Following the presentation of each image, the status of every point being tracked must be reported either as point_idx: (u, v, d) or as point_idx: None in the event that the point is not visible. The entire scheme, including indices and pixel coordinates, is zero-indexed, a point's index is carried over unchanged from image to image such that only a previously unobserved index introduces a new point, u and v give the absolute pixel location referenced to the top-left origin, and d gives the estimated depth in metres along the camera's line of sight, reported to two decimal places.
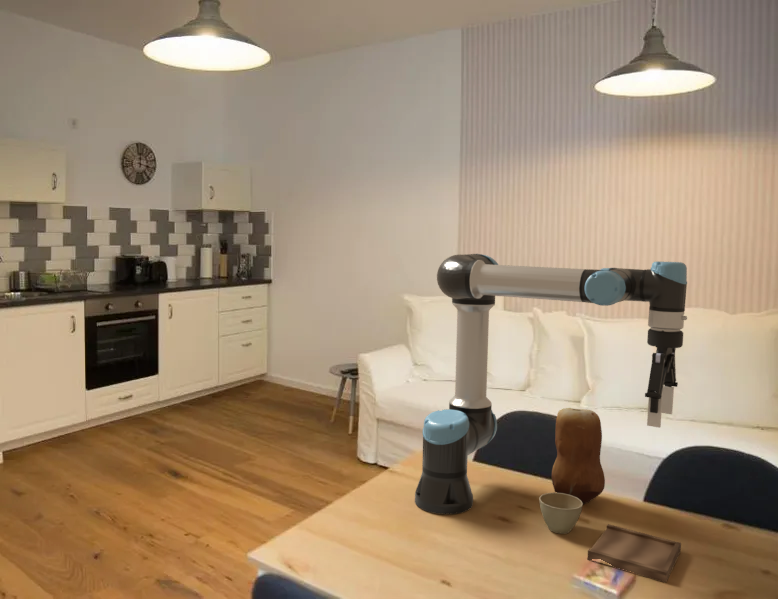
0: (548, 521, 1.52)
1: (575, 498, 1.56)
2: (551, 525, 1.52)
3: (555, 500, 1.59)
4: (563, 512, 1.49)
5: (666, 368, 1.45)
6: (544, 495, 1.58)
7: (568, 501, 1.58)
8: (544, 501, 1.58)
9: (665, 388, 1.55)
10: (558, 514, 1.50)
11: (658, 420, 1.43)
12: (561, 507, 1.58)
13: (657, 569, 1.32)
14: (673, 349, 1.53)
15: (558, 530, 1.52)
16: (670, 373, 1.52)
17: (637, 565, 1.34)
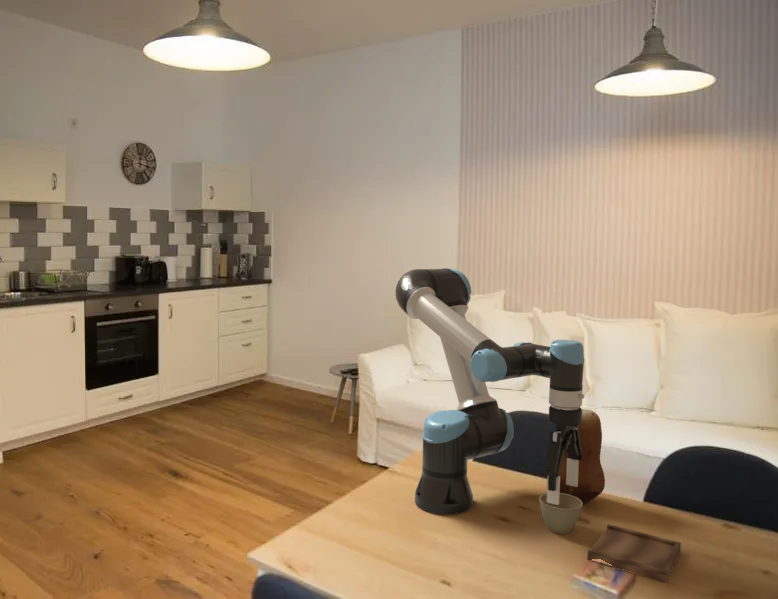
0: (548, 521, 1.52)
1: (575, 498, 1.56)
2: (551, 525, 1.52)
3: None
4: (563, 512, 1.49)
5: (564, 446, 1.49)
6: (544, 495, 1.58)
7: (568, 501, 1.58)
8: (544, 501, 1.58)
9: (570, 461, 1.59)
10: (558, 514, 1.50)
11: (556, 497, 1.47)
12: (561, 507, 1.58)
13: (657, 569, 1.32)
14: None
15: (558, 530, 1.52)
16: (573, 447, 1.56)
17: (637, 565, 1.34)
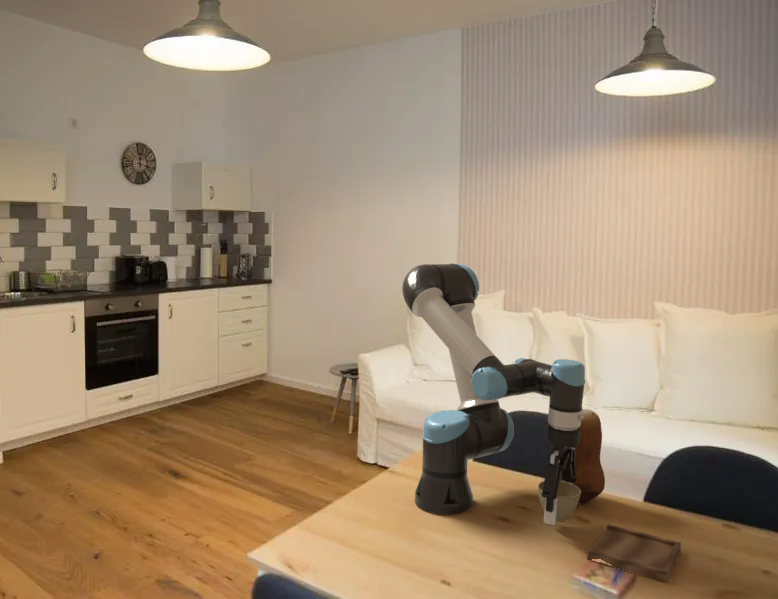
0: None
1: (573, 486, 1.57)
2: None
3: None
4: (561, 500, 1.50)
5: (562, 467, 1.50)
6: (543, 482, 1.58)
7: (566, 489, 1.58)
8: (542, 488, 1.58)
9: None
10: None
11: (553, 518, 1.50)
12: (559, 495, 1.59)
13: (657, 569, 1.32)
14: None
15: (556, 517, 1.52)
16: (568, 468, 1.56)
17: (637, 565, 1.34)
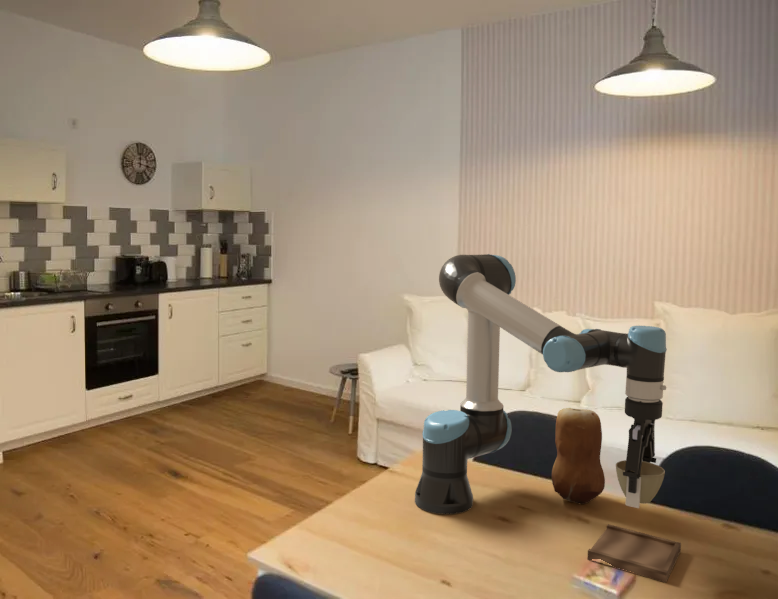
0: None
1: (654, 465, 1.43)
2: None
3: None
4: (645, 479, 1.36)
5: (644, 443, 1.36)
6: (620, 462, 1.44)
7: (646, 469, 1.44)
8: None
9: None
10: None
11: (637, 500, 1.36)
12: None
13: (657, 569, 1.32)
14: (652, 419, 1.44)
15: None
16: (648, 446, 1.43)
17: (637, 565, 1.34)
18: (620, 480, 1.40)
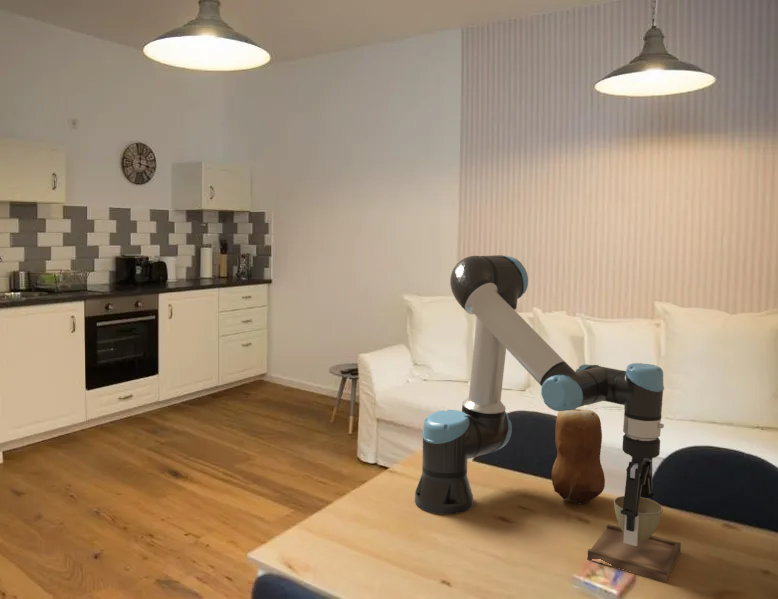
0: None
1: (652, 502, 1.44)
2: None
3: None
4: (643, 517, 1.36)
5: (642, 481, 1.37)
6: (618, 498, 1.45)
7: (644, 505, 1.45)
8: (618, 505, 1.45)
9: None
10: None
11: (635, 538, 1.36)
12: None
13: (657, 569, 1.32)
14: None
15: None
16: (646, 483, 1.43)
17: (637, 565, 1.34)
18: (618, 517, 1.41)
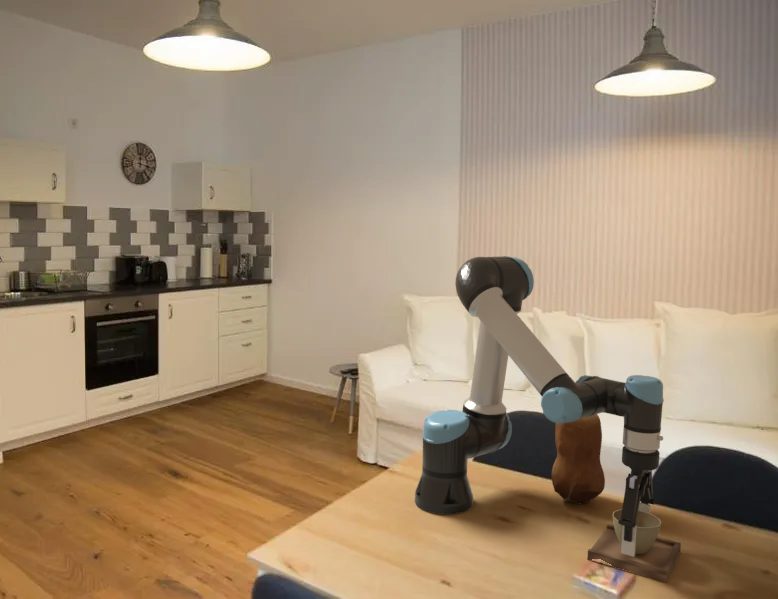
0: None
1: (651, 515, 1.44)
2: None
3: None
4: (642, 531, 1.37)
5: (641, 492, 1.37)
6: (617, 511, 1.45)
7: (643, 518, 1.45)
8: (617, 518, 1.45)
9: (641, 505, 1.47)
10: (636, 533, 1.37)
11: (632, 549, 1.36)
12: None
13: (657, 569, 1.32)
14: None
15: (635, 550, 1.39)
16: (646, 491, 1.44)
17: (637, 565, 1.34)
18: (617, 530, 1.41)
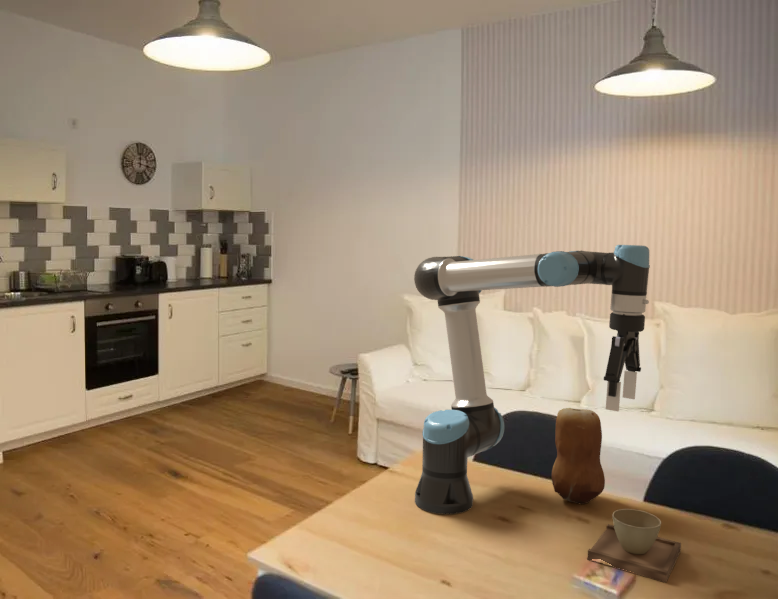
0: (624, 540, 1.40)
1: (651, 515, 1.44)
2: (627, 545, 1.40)
3: (627, 517, 1.46)
4: (642, 531, 1.37)
5: (626, 352, 1.44)
6: (617, 512, 1.45)
7: (642, 518, 1.45)
8: (616, 518, 1.45)
9: (628, 373, 1.54)
10: (636, 533, 1.37)
11: (616, 404, 1.43)
12: (635, 525, 1.46)
13: (657, 569, 1.32)
14: (636, 334, 1.52)
15: (635, 550, 1.39)
16: (632, 358, 1.51)
17: (637, 565, 1.34)
18: (617, 531, 1.41)
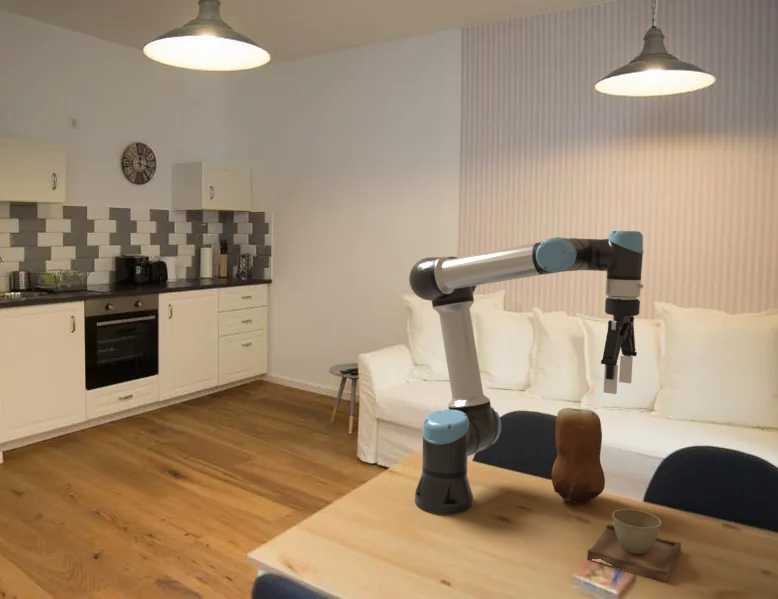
0: (624, 540, 1.40)
1: (651, 515, 1.44)
2: (627, 545, 1.40)
3: (627, 517, 1.46)
4: (642, 531, 1.37)
5: (622, 336, 1.47)
6: (617, 512, 1.45)
7: (642, 518, 1.45)
8: (616, 518, 1.45)
9: (624, 357, 1.57)
10: (636, 533, 1.37)
11: (614, 387, 1.45)
12: (635, 525, 1.46)
13: (657, 569, 1.32)
14: (631, 318, 1.54)
15: (635, 550, 1.39)
16: (628, 342, 1.54)
17: (637, 565, 1.34)
18: (617, 531, 1.41)
